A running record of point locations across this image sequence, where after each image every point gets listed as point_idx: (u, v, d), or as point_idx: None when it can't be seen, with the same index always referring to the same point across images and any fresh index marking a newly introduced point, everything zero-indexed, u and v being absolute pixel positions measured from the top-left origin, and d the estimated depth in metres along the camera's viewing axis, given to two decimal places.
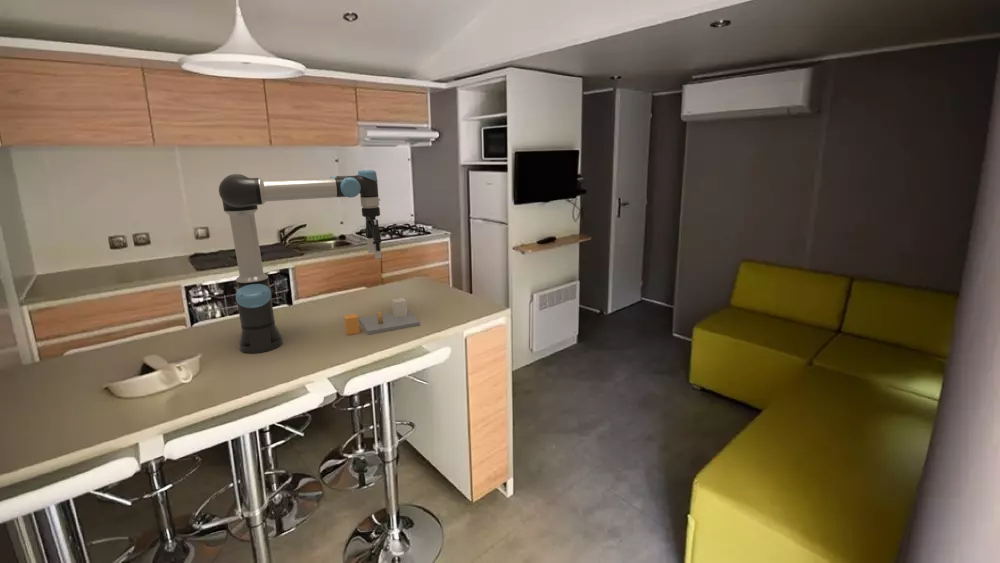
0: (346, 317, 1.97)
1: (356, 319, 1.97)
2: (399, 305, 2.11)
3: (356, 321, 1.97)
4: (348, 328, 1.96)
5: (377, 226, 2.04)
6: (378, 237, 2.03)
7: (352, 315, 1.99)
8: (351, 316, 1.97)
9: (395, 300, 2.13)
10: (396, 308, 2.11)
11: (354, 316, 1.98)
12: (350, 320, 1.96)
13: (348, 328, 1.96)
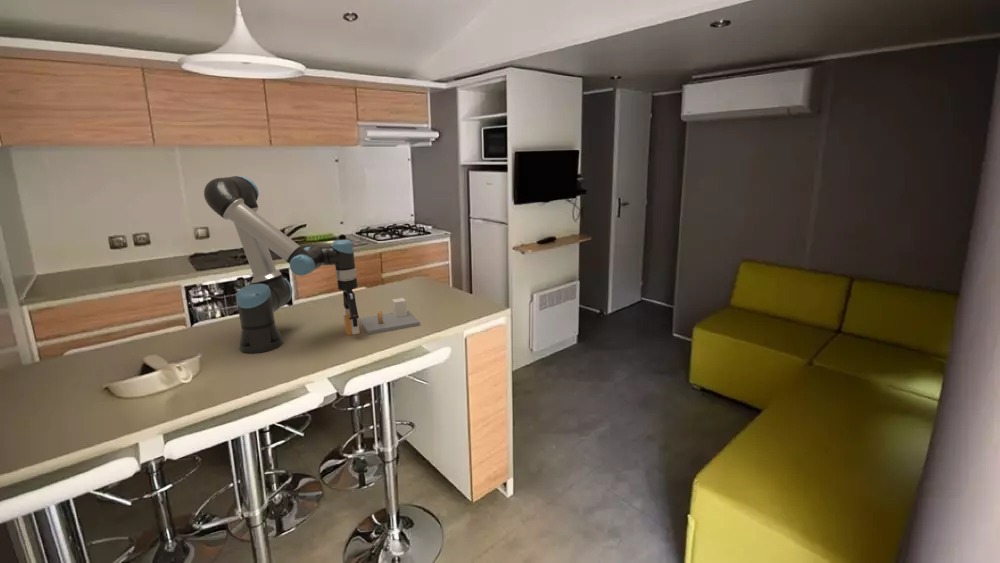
0: (346, 317, 1.97)
1: None
2: (399, 305, 2.11)
3: None
4: (348, 328, 1.96)
5: (354, 301, 1.90)
6: (355, 313, 1.89)
7: None
8: None
9: (395, 300, 2.13)
10: (396, 308, 2.11)
11: None
12: (350, 320, 1.96)
13: (348, 328, 1.96)
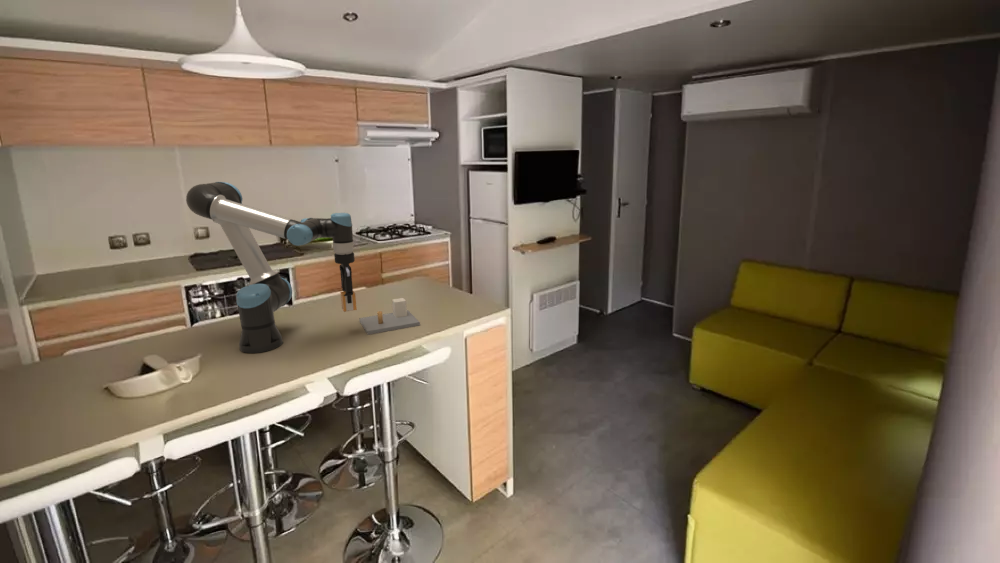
0: (343, 293, 1.94)
1: (353, 296, 1.94)
2: (399, 305, 2.11)
3: (353, 298, 1.95)
4: (345, 305, 1.94)
5: (350, 278, 1.89)
6: (350, 290, 1.90)
7: None
8: None
9: (395, 300, 2.13)
10: (396, 308, 2.11)
11: None
12: None
13: (345, 305, 1.94)
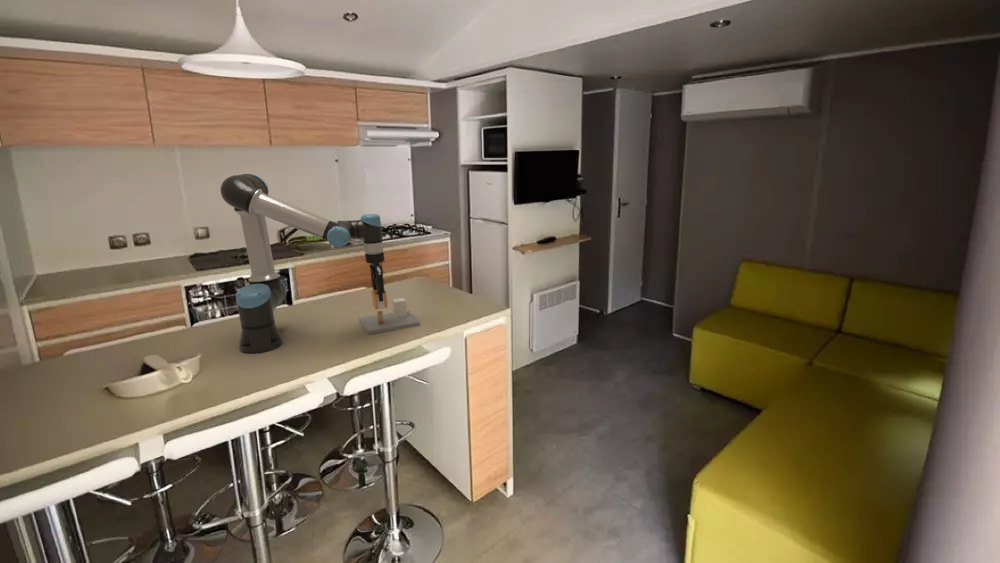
0: (374, 292, 2.00)
1: (384, 294, 2.01)
2: (399, 305, 2.11)
3: (384, 296, 2.01)
4: (376, 302, 2.00)
5: (381, 277, 1.95)
6: (381, 288, 1.96)
7: None
8: None
9: (395, 300, 2.13)
10: (396, 308, 2.11)
11: None
12: None
13: None
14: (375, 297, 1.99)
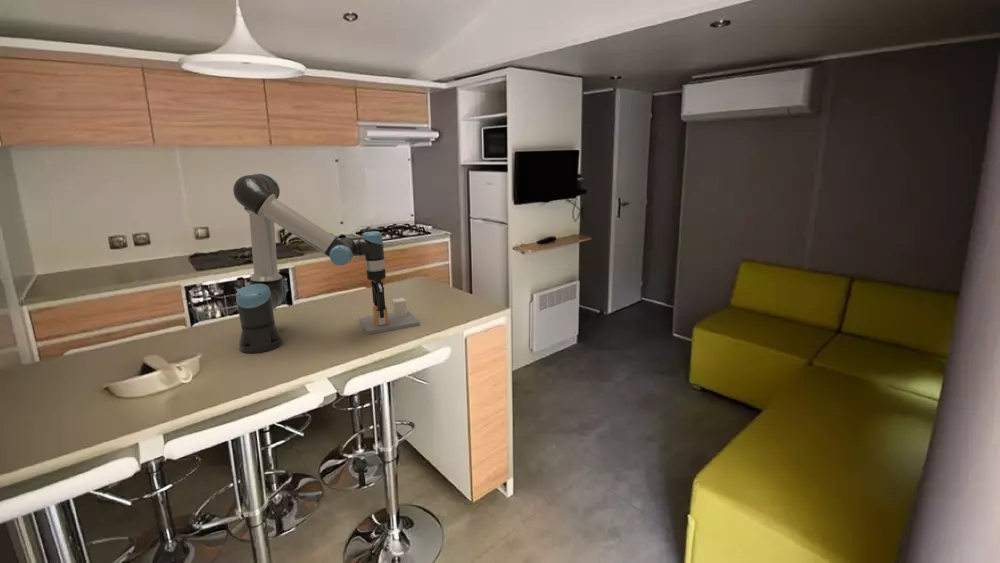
0: (375, 308, 2.02)
1: (385, 310, 2.03)
2: (399, 305, 2.11)
3: (385, 312, 2.03)
4: (377, 319, 2.02)
5: (382, 294, 1.97)
6: (382, 305, 1.98)
7: None
8: None
9: (395, 300, 2.13)
10: (396, 308, 2.11)
11: None
12: None
13: None
14: (376, 313, 2.01)
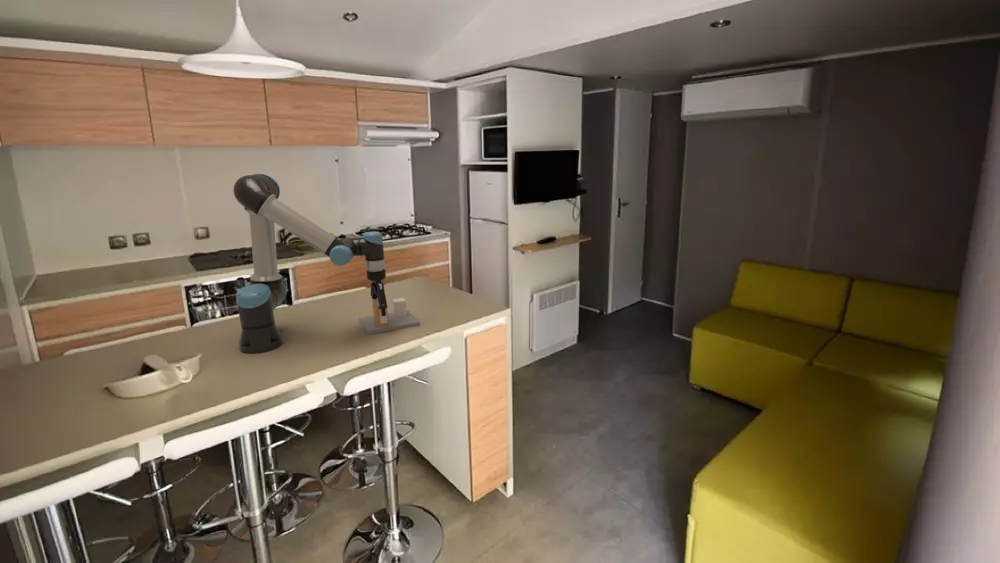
0: (375, 308, 2.02)
1: None
2: (399, 305, 2.11)
3: None
4: (377, 319, 2.02)
5: (383, 291, 1.95)
6: (384, 302, 1.94)
7: None
8: None
9: (395, 300, 2.13)
10: (396, 308, 2.11)
11: None
12: None
13: (378, 319, 2.02)
14: (376, 313, 2.01)
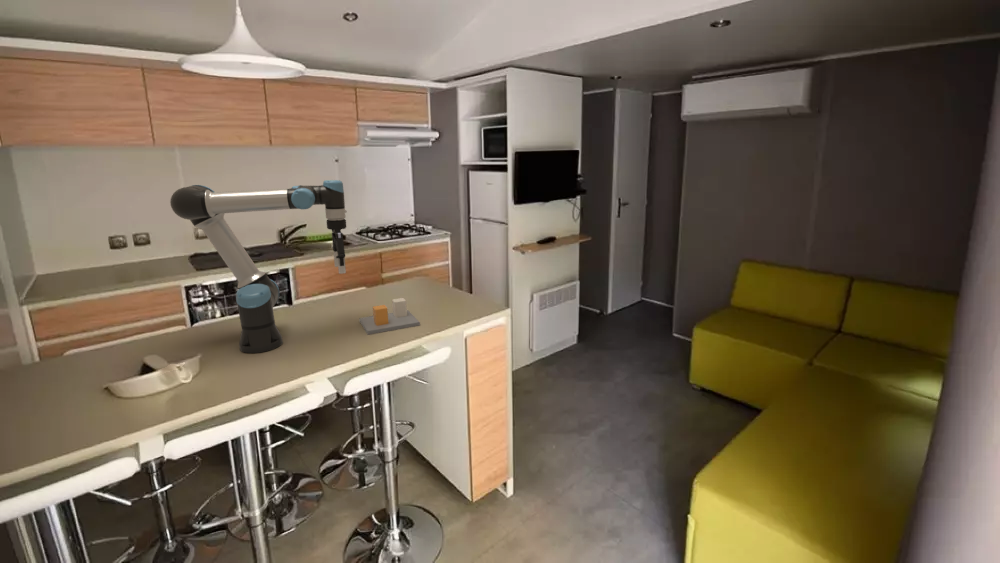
0: (375, 308, 2.02)
1: (385, 310, 2.03)
2: (399, 305, 2.11)
3: (385, 312, 2.03)
4: (377, 319, 2.02)
5: (341, 240, 1.93)
6: (342, 251, 1.92)
7: (381, 307, 2.04)
8: (381, 307, 2.03)
9: (395, 300, 2.13)
10: (396, 308, 2.11)
11: (383, 307, 2.03)
12: (379, 311, 2.02)
13: (378, 319, 2.02)
14: (376, 313, 2.01)
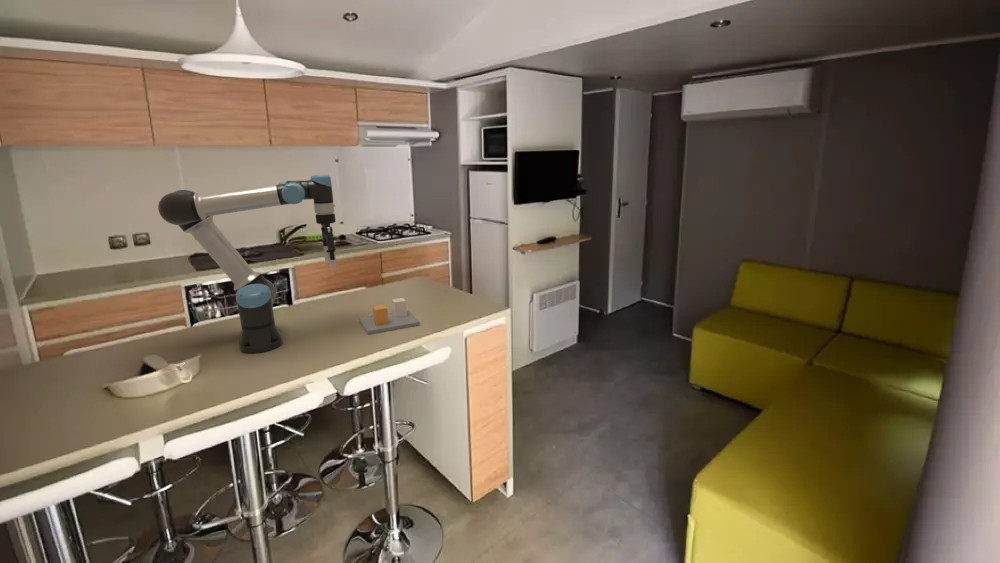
0: (375, 308, 2.02)
1: (385, 310, 2.03)
2: (399, 305, 2.11)
3: (385, 312, 2.03)
4: (377, 319, 2.02)
5: (331, 234, 1.93)
6: (332, 245, 1.92)
7: (381, 307, 2.04)
8: (381, 307, 2.03)
9: (395, 300, 2.13)
10: (396, 308, 2.11)
11: (383, 307, 2.03)
12: (379, 311, 2.02)
13: (378, 319, 2.02)
14: (376, 313, 2.01)
